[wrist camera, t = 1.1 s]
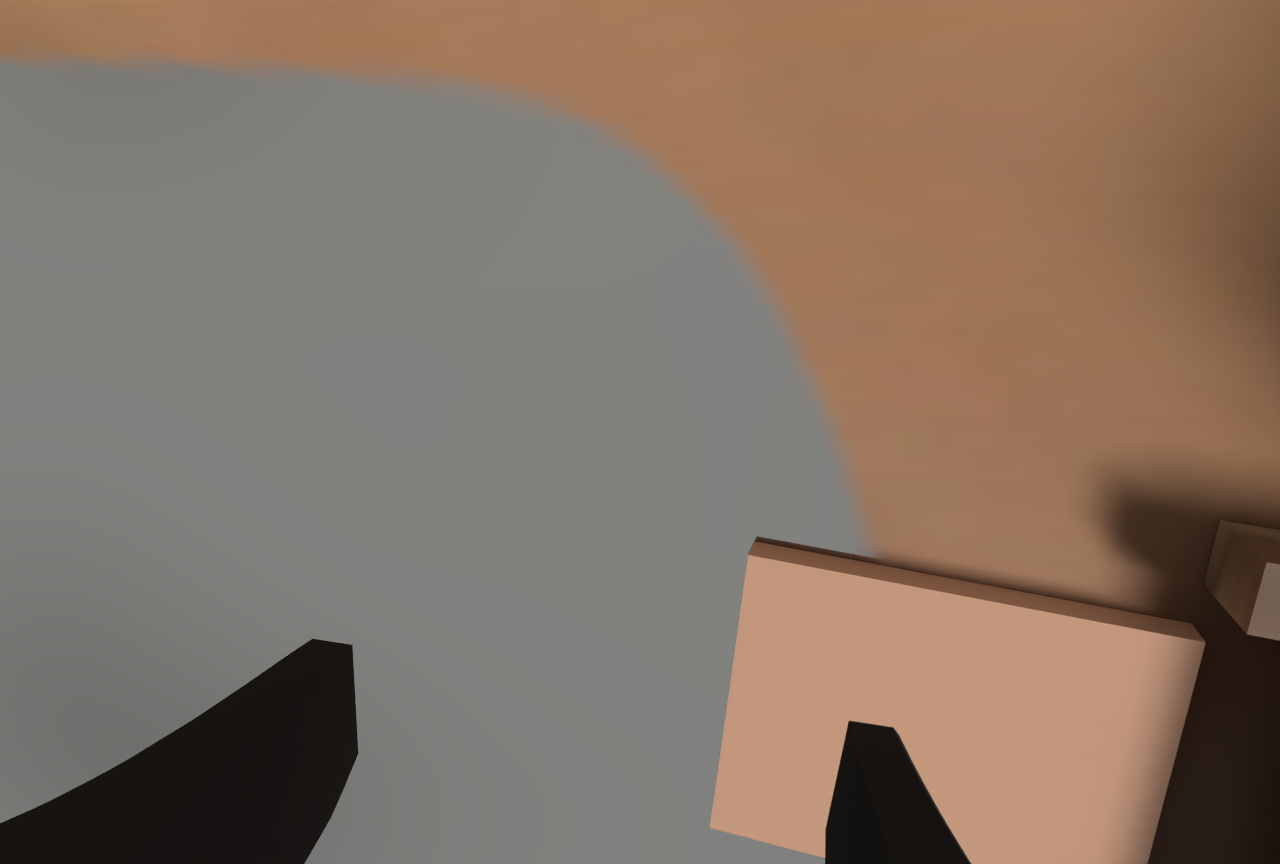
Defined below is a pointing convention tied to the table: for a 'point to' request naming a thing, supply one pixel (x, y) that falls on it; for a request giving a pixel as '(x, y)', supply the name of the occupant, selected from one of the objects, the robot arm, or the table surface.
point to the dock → (1247, 576)
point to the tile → (952, 707)
